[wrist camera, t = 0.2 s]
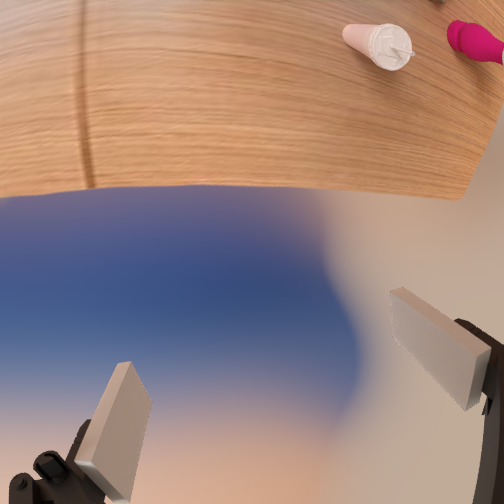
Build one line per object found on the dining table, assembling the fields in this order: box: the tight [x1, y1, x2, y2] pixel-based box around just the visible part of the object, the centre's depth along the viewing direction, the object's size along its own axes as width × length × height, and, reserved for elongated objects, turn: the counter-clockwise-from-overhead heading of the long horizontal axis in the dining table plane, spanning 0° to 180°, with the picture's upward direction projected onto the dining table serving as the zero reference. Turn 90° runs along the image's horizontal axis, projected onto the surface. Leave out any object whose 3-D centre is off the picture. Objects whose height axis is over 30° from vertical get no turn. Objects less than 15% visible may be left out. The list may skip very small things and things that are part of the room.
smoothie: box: [342, 23, 415, 71], centre depth 30 cm, size 6×6×14 cm
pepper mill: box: [447, 20, 504, 66], centre depth 28 cm, size 7×7×20 cm
